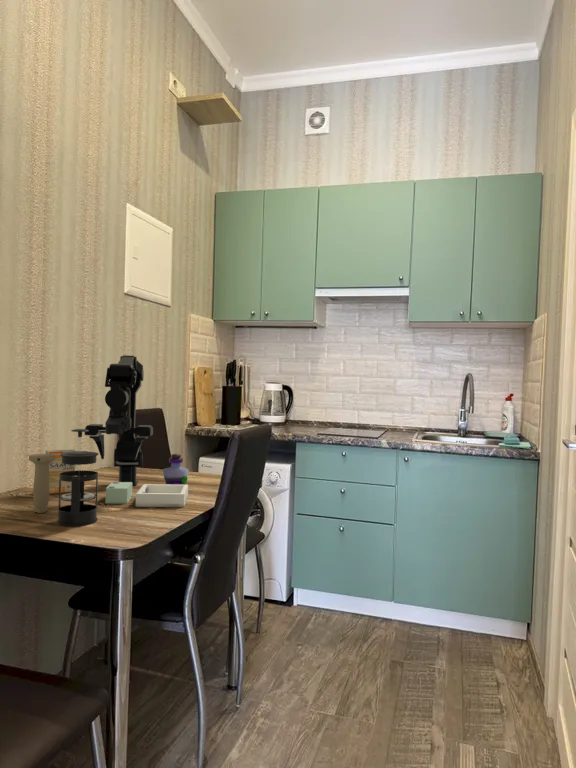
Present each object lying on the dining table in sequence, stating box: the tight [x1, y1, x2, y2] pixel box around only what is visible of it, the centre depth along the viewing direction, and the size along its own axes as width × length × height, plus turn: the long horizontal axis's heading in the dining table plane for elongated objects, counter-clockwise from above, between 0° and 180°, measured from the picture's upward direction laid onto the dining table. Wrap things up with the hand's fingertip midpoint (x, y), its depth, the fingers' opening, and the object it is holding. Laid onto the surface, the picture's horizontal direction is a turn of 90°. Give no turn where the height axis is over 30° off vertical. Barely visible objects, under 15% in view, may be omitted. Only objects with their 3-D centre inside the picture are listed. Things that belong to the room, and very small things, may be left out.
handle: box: [28, 453, 56, 514], centre depth 145 cm, size 5×6×15 cm
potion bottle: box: [162, 453, 190, 485], centre depth 178 cm, size 9×9×12 cm
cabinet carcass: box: [135, 483, 189, 508], centre depth 162 cm, size 14×13×4 cm
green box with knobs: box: [104, 481, 133, 504], centre depth 163 cm, size 10×6×5 cm, turn 8°
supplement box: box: [45, 449, 76, 495], centre depth 171 cm, size 8×5×13 cm, turn 123°
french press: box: [56, 428, 99, 527], centre depth 137 cm, size 12×9×23 cm
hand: (118, 459), depth 163 cm, fingers open, 9 cm apart
